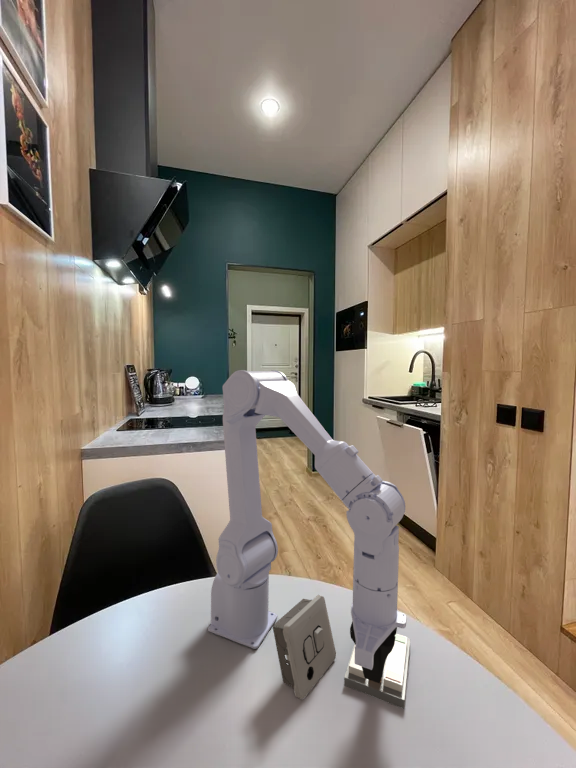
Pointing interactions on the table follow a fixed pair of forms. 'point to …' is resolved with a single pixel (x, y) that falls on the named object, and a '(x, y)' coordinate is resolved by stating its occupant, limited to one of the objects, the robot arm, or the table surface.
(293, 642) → the electrical switch
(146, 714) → the table surface
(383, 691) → the breaker base
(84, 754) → the table surface
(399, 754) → the table surface
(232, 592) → the robot arm
